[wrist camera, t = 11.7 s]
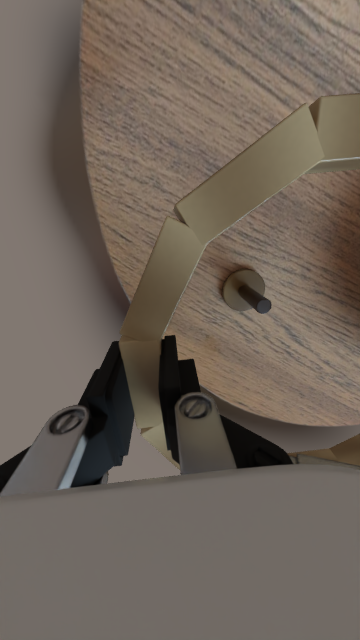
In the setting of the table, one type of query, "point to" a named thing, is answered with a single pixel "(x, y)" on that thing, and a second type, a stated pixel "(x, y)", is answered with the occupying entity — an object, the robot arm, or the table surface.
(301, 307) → the table surface
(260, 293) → the walnut peg
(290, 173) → the ring
